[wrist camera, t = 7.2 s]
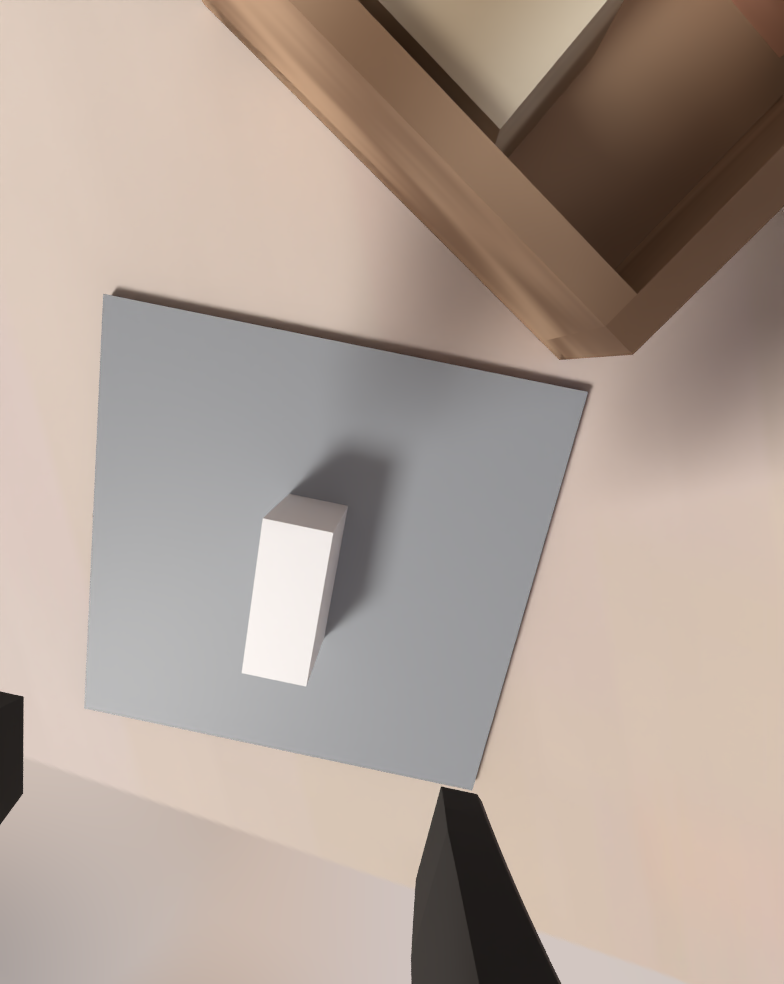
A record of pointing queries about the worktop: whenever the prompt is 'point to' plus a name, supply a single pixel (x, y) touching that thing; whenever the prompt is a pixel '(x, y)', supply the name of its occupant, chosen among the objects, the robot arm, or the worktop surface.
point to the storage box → (561, 157)
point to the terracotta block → (766, 20)
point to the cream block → (499, 53)
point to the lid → (313, 538)
